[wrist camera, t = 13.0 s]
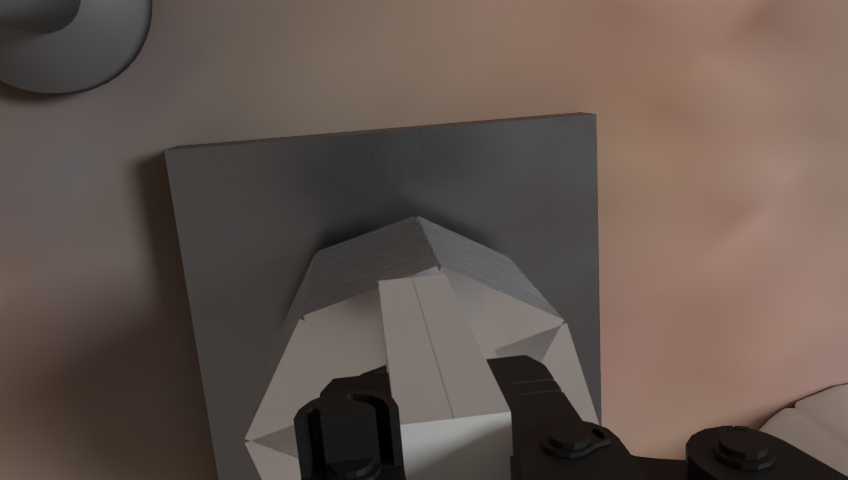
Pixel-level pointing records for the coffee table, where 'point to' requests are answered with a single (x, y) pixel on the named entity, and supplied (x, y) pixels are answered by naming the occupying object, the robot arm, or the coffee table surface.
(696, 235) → the coffee table surface
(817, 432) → the decorative vase
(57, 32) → the stand
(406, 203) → the square peg base
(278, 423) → the grey octagonal holder
